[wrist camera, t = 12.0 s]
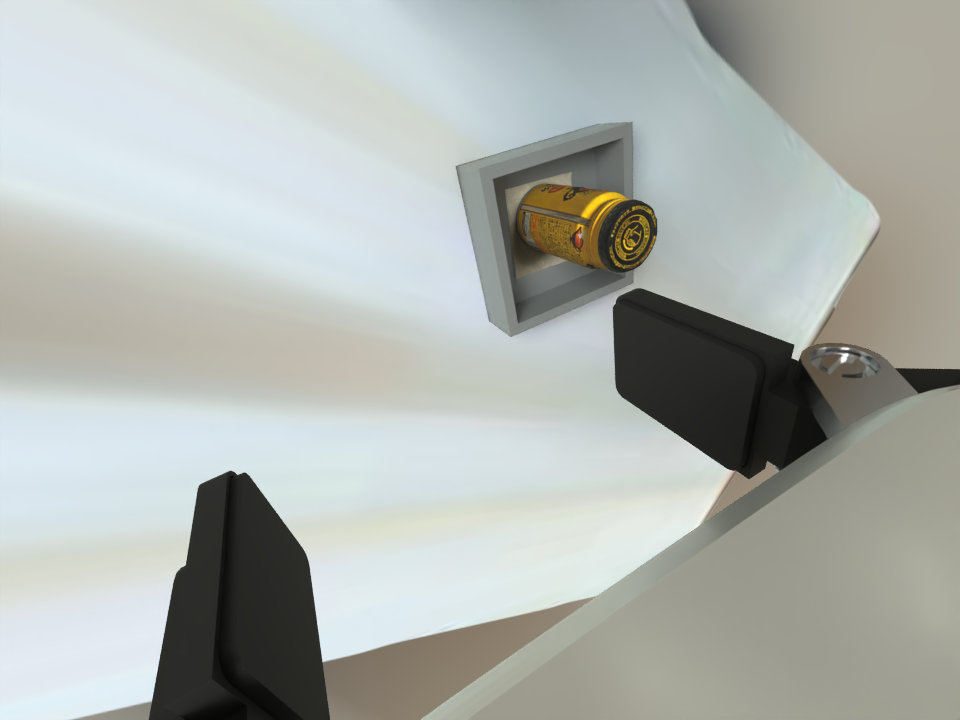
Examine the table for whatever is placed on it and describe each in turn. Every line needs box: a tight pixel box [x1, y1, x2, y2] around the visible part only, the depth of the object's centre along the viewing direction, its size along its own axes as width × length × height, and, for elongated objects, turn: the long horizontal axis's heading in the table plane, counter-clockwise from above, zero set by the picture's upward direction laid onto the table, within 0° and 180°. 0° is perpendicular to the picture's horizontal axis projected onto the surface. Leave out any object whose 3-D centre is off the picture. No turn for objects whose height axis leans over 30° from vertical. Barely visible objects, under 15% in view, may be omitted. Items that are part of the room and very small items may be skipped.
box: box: [456, 122, 633, 337], centre depth 40 cm, size 15×15×4 cm
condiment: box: [505, 172, 657, 279], centre depth 36 cm, size 7×8×12 cm
